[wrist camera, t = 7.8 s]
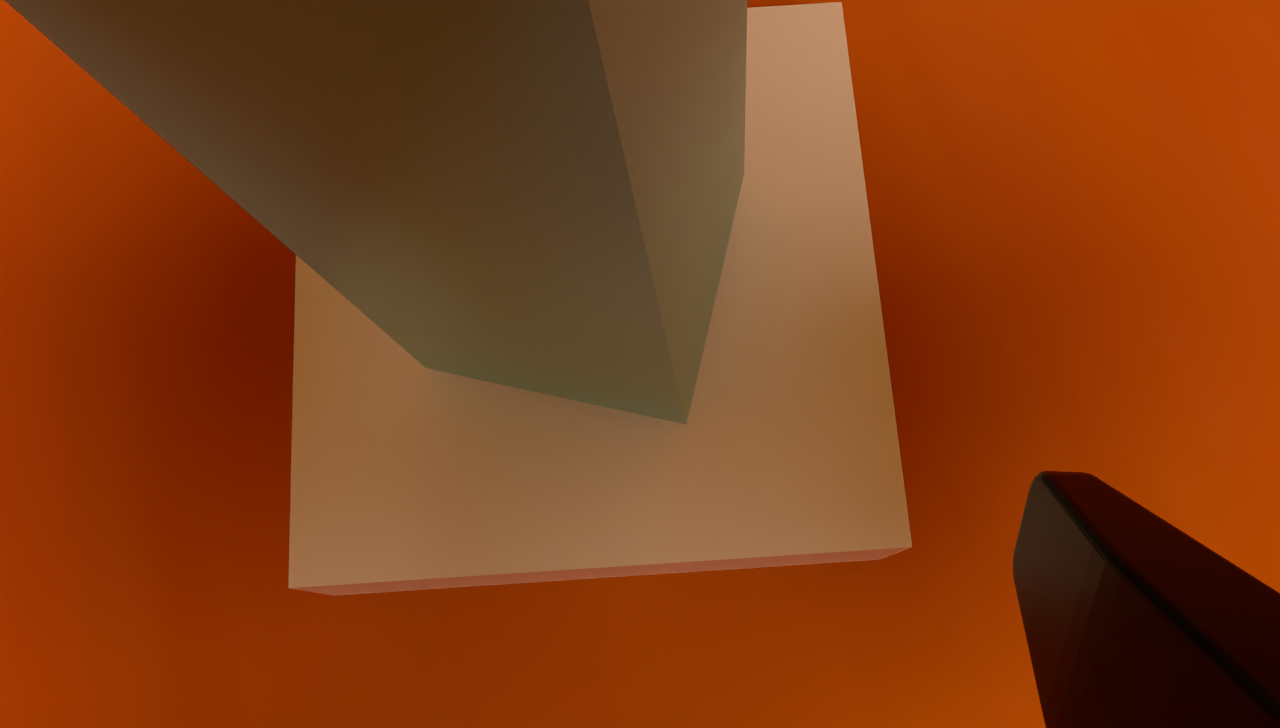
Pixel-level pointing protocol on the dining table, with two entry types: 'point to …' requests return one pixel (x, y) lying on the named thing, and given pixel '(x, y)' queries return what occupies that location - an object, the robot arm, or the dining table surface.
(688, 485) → the base plate
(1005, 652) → the dining table surface
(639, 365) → the tall block
